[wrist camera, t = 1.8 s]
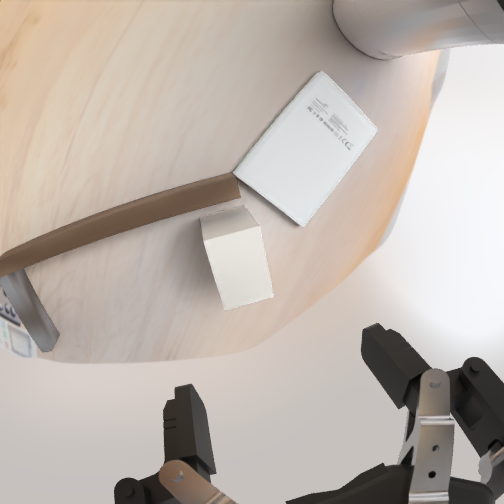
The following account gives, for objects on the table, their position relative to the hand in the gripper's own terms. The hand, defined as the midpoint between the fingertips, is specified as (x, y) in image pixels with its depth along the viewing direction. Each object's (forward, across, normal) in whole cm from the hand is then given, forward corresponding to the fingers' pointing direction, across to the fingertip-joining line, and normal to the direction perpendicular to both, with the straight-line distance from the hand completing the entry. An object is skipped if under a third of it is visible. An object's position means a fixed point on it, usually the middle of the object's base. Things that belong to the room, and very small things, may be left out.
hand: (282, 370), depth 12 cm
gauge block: (+16, 0, 0) cm, 16 cm away
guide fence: (+16, +11, -1) cm, 19 cm away
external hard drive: (+16, -9, -7) cm, 20 cm away
